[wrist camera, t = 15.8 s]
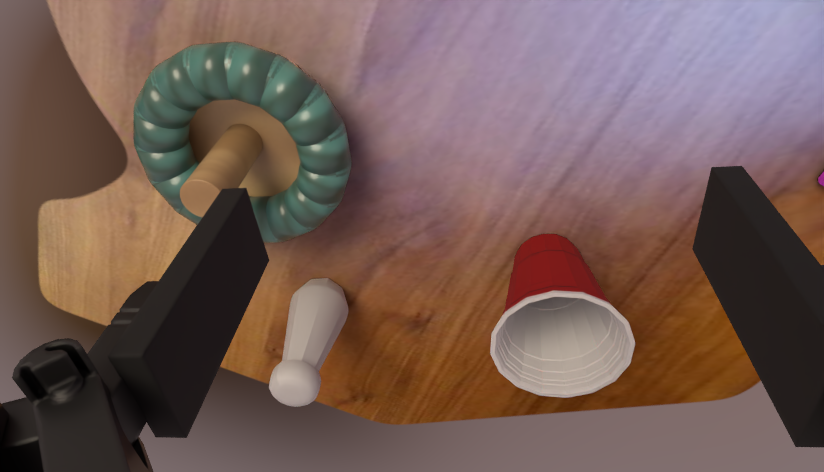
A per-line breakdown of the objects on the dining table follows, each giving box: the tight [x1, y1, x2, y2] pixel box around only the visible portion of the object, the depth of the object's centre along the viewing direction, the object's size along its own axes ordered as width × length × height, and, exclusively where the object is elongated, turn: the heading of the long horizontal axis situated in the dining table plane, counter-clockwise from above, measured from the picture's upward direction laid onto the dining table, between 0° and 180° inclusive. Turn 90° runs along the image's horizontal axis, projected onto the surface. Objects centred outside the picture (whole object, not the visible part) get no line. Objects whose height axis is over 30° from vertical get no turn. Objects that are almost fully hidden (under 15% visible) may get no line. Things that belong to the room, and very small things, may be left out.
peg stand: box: [180, 65, 300, 217], centre depth 44 cm, size 11×11×10 cm
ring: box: [134, 42, 352, 243], centre depth 45 cm, size 17×17×4 cm
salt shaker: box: [269, 278, 348, 407], centre depth 53 cm, size 6×6×13 cm
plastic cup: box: [490, 234, 635, 398], centre depth 48 cm, size 11×11×12 cm
